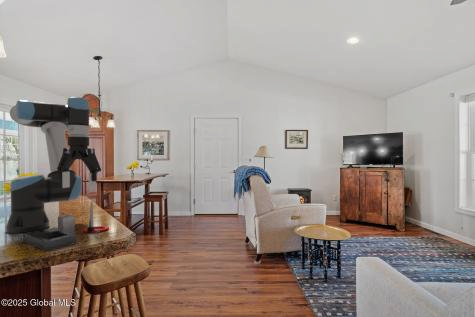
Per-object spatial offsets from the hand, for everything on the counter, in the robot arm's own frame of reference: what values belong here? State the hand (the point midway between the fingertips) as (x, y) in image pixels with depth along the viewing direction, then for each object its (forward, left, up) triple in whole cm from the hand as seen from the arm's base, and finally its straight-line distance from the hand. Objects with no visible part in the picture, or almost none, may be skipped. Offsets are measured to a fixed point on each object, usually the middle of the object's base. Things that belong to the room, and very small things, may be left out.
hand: (79, 188), depth 109 cm
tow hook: (+1, +7, -19) cm, 20 cm away
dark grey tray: (+2, -11, -19) cm, 22 cm away
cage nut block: (-6, -2, -19) cm, 20 cm away
